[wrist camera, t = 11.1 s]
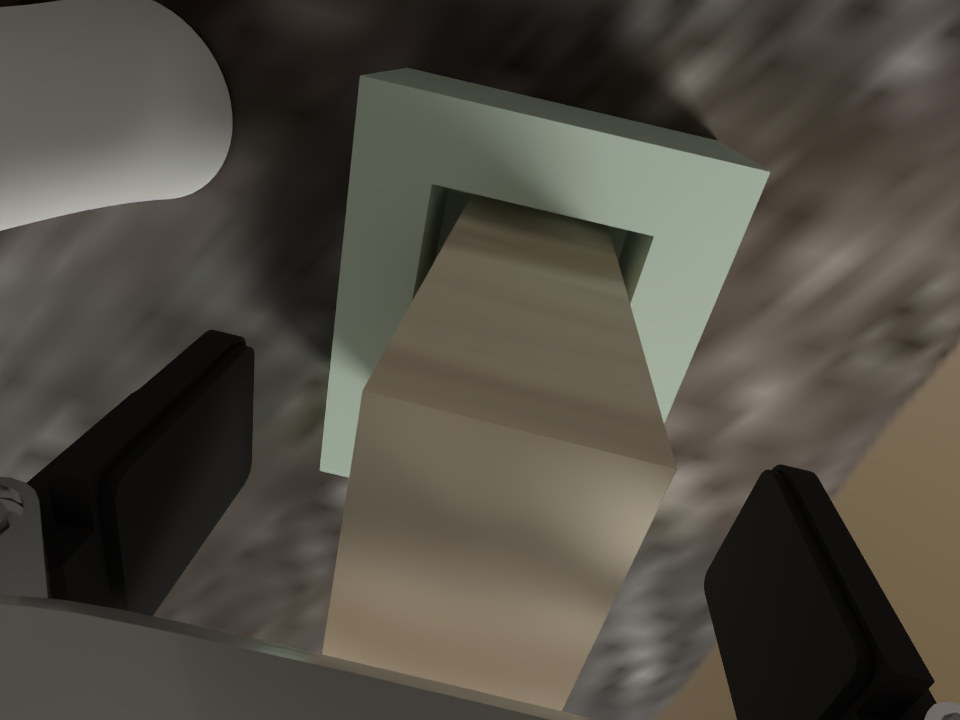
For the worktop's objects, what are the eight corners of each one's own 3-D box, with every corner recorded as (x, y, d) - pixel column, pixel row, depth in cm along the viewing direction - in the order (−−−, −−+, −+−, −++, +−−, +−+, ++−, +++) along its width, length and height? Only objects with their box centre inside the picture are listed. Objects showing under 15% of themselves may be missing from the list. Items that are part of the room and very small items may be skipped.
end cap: (407, 67, 18) (359, 75, 14) (718, 140, 18) (770, 172, 14) (363, 390, 24) (319, 470, 19) (603, 447, 24) (614, 540, 19)
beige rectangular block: (475, 187, 18) (362, 390, 8) (606, 220, 18) (677, 469, 8) (437, 360, 21) (317, 686, 10) (551, 389, 21) (546, 742, 10)
